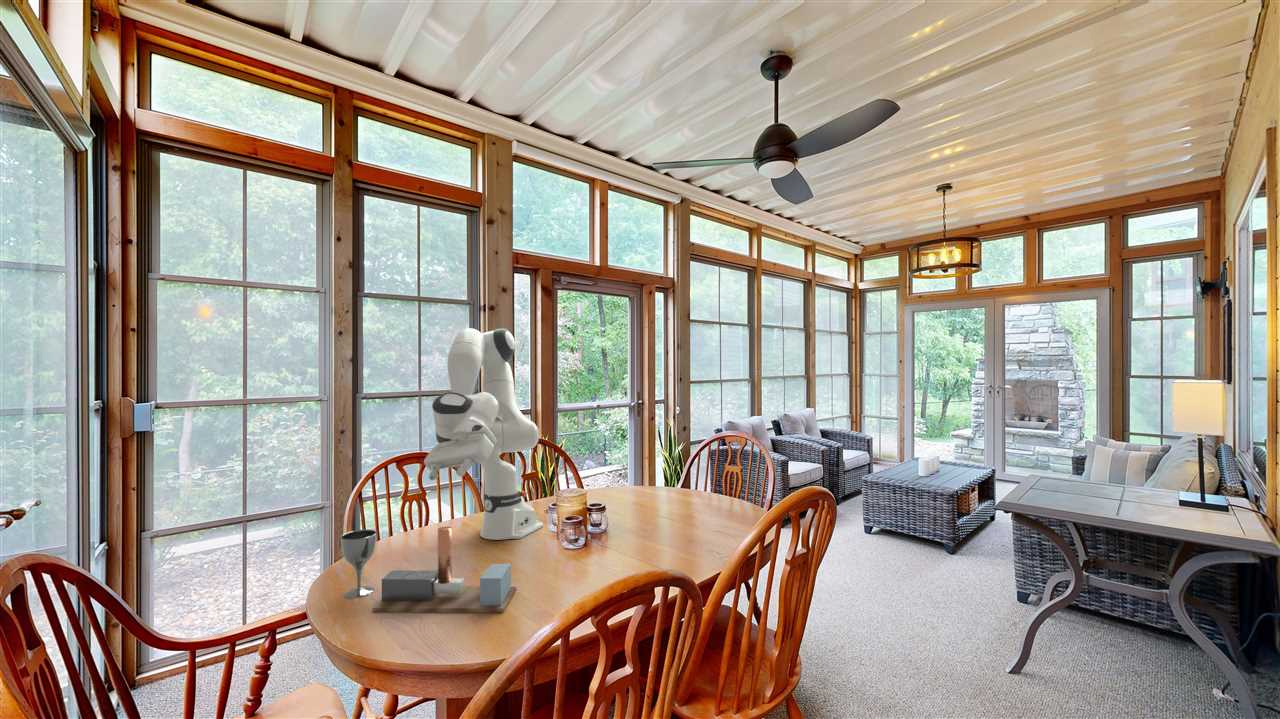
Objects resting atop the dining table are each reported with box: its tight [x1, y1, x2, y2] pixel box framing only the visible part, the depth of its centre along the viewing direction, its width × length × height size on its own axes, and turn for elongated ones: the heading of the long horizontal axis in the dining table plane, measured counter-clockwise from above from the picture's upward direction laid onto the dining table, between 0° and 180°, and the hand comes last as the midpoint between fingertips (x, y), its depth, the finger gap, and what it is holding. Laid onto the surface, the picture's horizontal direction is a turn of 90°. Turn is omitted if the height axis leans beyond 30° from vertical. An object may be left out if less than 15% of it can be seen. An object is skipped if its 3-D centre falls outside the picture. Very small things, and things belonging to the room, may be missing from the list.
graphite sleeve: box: [381, 569, 438, 602], centre depth 131 cm, size 12×5×5 cm, turn 89°
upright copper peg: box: [432, 526, 466, 593], centre depth 131 cm, size 18×3×16 cm, turn 89°
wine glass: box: [340, 528, 377, 599], centre depth 136 cm, size 8×8×15 cm
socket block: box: [479, 563, 512, 605], centre depth 131 cm, size 5×9×6 cm, turn 179°
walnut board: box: [372, 585, 517, 614], centre depth 131 cm, size 31×12×1 cm, turn 89°
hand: (445, 476), depth 139 cm, fingers open, 8 cm apart
